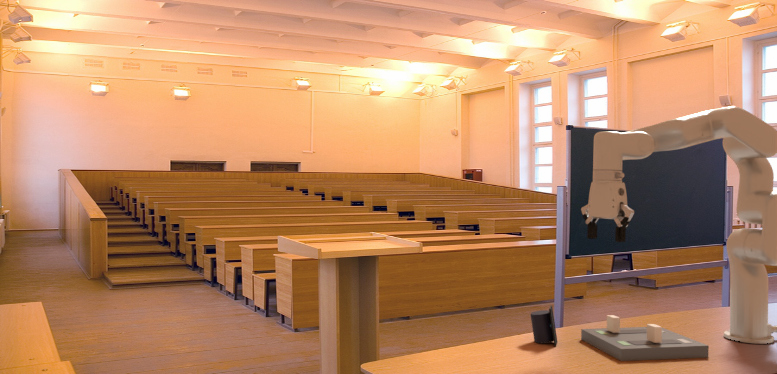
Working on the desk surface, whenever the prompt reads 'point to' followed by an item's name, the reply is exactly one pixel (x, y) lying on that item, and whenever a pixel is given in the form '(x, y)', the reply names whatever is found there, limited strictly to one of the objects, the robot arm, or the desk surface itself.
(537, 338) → the speaker
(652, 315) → the desk surface
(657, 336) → the block
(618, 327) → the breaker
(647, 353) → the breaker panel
